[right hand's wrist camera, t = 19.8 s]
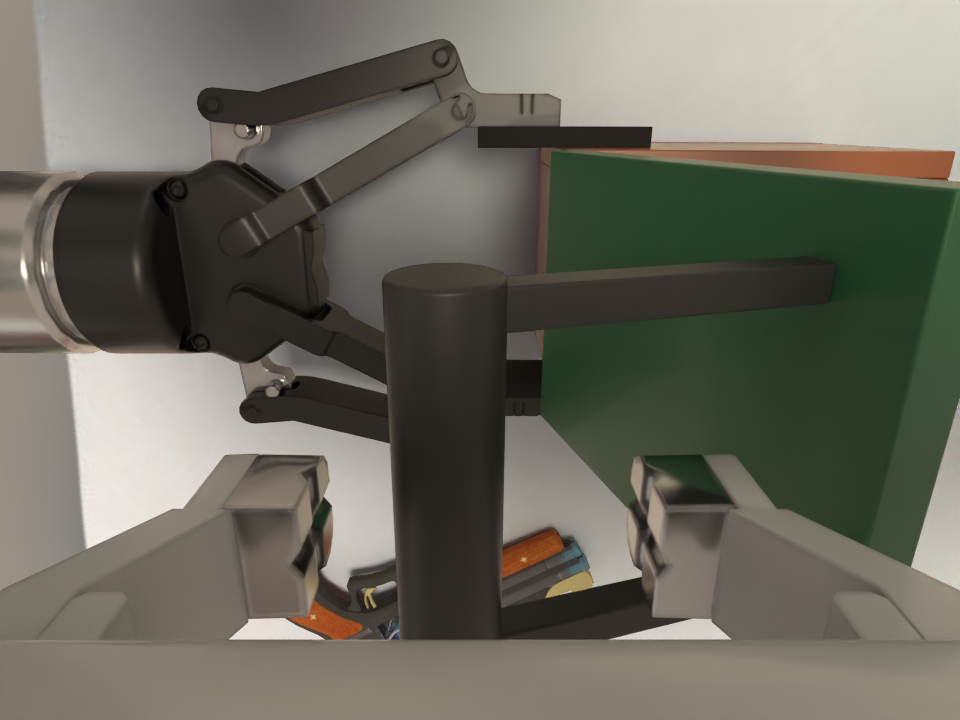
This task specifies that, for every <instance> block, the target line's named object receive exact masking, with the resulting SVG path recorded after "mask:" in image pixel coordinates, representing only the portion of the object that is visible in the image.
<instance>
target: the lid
mask: <svg viewBox="0 0 960 720" xmlns="http://www.w3.org/2000/svg"><path fill="white" fill-rule="evenodd" d="M382 291H383V311H384V331H385V351H386V371H387V391H388V411H389V432H390V452H391V472H392V492H393V512H394V532H395V552H396V572H397V592H398V612H399V632H400V640H608V639H612V638H616V637H620V636H624V635H628V634H632V633H636V632H640V631H644V630H648V629H652V628H656V627H660V626H664V625H668V624H672V623H676V622H681V621H685V620H689V619H693V618H661V617H652V615H651V612H650V609H649V607H648V604H647V601H646V598H645V595H644V593H643V590H642V587H641V579H642V577H639V578H635V579H630V580H626V581H621V582H617V583H612V584H608V585H603V586H598V587H594V588H589V589H585V590H580V591H576V592H571V593H567V594H562V595H557V596H553V597H548V598H544V599H539V600H535V601H530V602H526V603H521V604H516V605H512V606H507V607H503V608H501V600H502V549H503V499H504V448H505V397H506V346H507V333H515V332H526V331H537V330H544V337H543V361H542V386H541V410H540V415H541V416H542V417H543V418H544V419H545V420H546V421H547V422H548V424H549V425H550V426H551V427H552V428H553V429H554V430H555V431H556V432H557V433H558V434H559V435H560V436H561V437H562V439H563V440H564V441H565V442H566V443H567V444H568V445H569V446H570V447H571V448H572V449H573V450H574V451H575V452H576V454H577V455H578V456H579V457H580V458H581V459H582V460H583V461H584V462H585V463H586V464H587V465H588V466H589V467H590V469H591V470H592V471H593V472H594V473H595V474H596V475H597V476H598V477H599V478H600V479H601V480H602V481H603V482H604V484H605V485H606V486H607V487H608V488H609V489H610V490H611V491H612V492H613V493H614V494H615V495H616V496H617V497H618V499H619V500H620V501H621V502H622V503H623V504H624V505H625V506H626V507H627V508H628V505H629V504H630V503H631V502H632V501H633V500H634V499H635V498H636V497H637V496H636V494H635V491H634V489H633V486H632V484H631V472H632V465H633V461H634V457H637V456H654V455H696V454H701V455H712V454H732V455H734V456H736V457H737V459H738V460H739V461H740V462H741V464H742V465H743V466H744V467H745V469H746V470H747V471H748V473H749V474H750V475H751V476H752V478H753V479H754V480H755V481H756V483H757V484H758V485H759V487H760V488H761V489H762V490H763V492H764V493H765V494H766V495H767V497H768V498H769V499H770V501H771V502H772V503H773V504H774V506H775V507H776V508H777V509H788V510H791V511H793V512H795V513H797V514H799V515H801V516H803V517H805V518H807V519H810V520H812V521H814V522H816V523H818V524H820V525H822V526H824V527H827V528H829V529H831V530H833V531H835V532H837V533H839V534H841V535H843V536H846V537H848V538H850V539H852V540H854V541H856V542H858V543H860V544H862V545H865V546H867V547H869V548H871V549H873V550H875V551H877V552H879V553H882V554H884V555H886V556H888V557H890V558H892V559H894V560H896V561H898V562H901V563H903V564H905V565H907V566H909V567H911V565H912V562H913V558H914V555H915V551H916V548H917V544H918V541H919V537H920V534H921V530H922V527H923V523H924V520H925V516H926V513H927V509H928V506H929V503H930V499H931V496H932V492H933V489H934V485H935V482H936V478H937V475H938V471H939V468H940V464H941V461H942V457H943V454H944V451H945V447H946V444H947V440H948V437H949V433H950V430H951V426H952V423H953V419H954V416H955V412H956V409H957V405H958V402H959V398H960V182H954V181H942V180H931V179H919V178H907V177H895V176H883V175H871V174H860V173H848V172H836V171H824V170H812V169H800V168H789V167H777V166H765V165H753V164H741V163H729V162H717V161H706V160H694V159H682V158H670V157H658V156H646V155H635V154H623V153H611V152H599V151H587V150H553V151H551V165H550V189H549V214H548V239H547V263H546V273H543V274H528V275H513V276H505V274H504V273H502V272H500V271H498V270H495V269H493V268H489V267H485V266H480V265H473V264H462V263H431V264H420V265H413V266H407V267H403V268H399V269H396V270H394V271H391V272H389V273H387V274H386V275H385V276H384V278H383V281H382Z"/></svg>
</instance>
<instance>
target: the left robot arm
mask: <svg viewBox="0 0 960 720" xmlns="http://www.w3.org/2000/svg"><path fill="white" fill-rule="evenodd" d="M431 84H434V85H435V88H436V91H437V93H438V96H439V99H440V103H438V104H436V105H435V106H433V107H431V108H430V109H428V110H426V111H424V112H423V113H421V114H419V115H418V116H416V117H414V118H413V119H411V120H409V121H407V122H406V123H404V124H402V125H401V126H399V127H397V128H396V129H394V130H392V131H391V132H389V133H387V134H385V135H384V136H382V137H380V138H379V139H377V140H375V141H374V142H372V143H370V144H369V145H367V146H365V147H363V148H362V149H360V150H358V151H357V152H355V153H353V154H352V155H350V156H348V157H347V158H345V159H343V160H341V161H340V162H338V163H336V164H335V165H333V166H331V167H330V168H328V169H326V170H325V171H323V172H321V173H319V174H318V175H316V176H314V177H313V178H311V179H309V180H307V181H305V182H303V183H301V184H299V185H298V186H296V187H294V188H293V189H291V190H289V191H288V192H287V191H286V190H284V189H283V188H281V187H280V186H278V185H277V184H275V183H274V182H273V181H271V180H270V179H268V178H267V177H265V176H264V175H263V174H261V173H260V172H258V171H257V170H255V169H254V168H253V167H251V166H250V165H248V164H247V163H245V156H246V153H247V152H248V151H249V149H251V148H252V147H255V146H260V145H263V144H265V143H266V142H267V141H268V140H269V138H270V134H271V126H279V125H289V124H294V123H298V122H302V121H306V120H309V119H313V118H316V117H320V116H323V115H326V114H330V113H333V112H337V111H340V110H344V109H347V108H351V107H354V106H358V105H361V104H365V103H368V102H372V101H375V100H379V99H382V98H386V97H389V96H393V95H396V94H400V93H403V92H407V91H410V90H414V89H417V88H421V87H424V86H428V85H431ZM197 106H198V110H199V112H200V113H201V115H202V116H203V117H204V118H206V119H207V120H209V121H210V133H211V153H212V161H211V162H209V163H207V164H205V165H204V166H202V167H201V168H199V169H197V170H195V171H192V172H94V173H90V174H88V175H86V176H85V175H82V174H80V173H77V172H39V171H37V172H35V171H32V172H30V171H0V352H1V353H94V352H97V351H99V350H103V351H106V352H109V353H204V352H208V353H215V354H218V355H222V356H224V357H226V358H228V359H230V360H232V361H234V362H237V363H239V365H240V369H241V374H242V378H243V382H244V387H245V391H246V398H245V400H244V401H243V402H242V403H241V405H240V407H239V409H240V414H241V416H242V418H243V419H244V420H245V421H247V422H250V423H269V422H281V421H298V422H302V423H306V424H310V425H314V426H319V427H323V428H327V429H331V430H336V431H340V432H344V433H348V434H353V435H357V436H361V437H365V438H369V439H374V440H378V441H382V442H386V443H390V432H389V411H388V394H384V393H380V392H375V391H371V390H367V389H363V388H359V387H355V386H351V385H347V384H343V383H338V382H334V381H330V380H326V379H322V378H317V377H311V376H295V374H294V372H293V370H292V369H291V368H289V367H285V366H279V365H276V364H274V363H273V362H272V361H271V360H270V359H269V357H268V354H269V353H270V352H272V351H273V350H274V349H276V348H277V347H278V346H280V345H281V344H282V343H284V342H285V341H288V342H290V343H292V344H294V345H296V346H298V347H300V348H302V349H304V350H306V351H308V352H310V353H313V354H315V355H318V356H329V357H331V358H334V359H336V360H338V361H340V362H342V363H344V364H346V365H348V366H350V367H352V368H354V369H356V370H358V371H360V372H362V373H364V374H366V375H368V376H370V377H372V378H374V379H376V380H378V381H380V382H382V383H384V384H386V385H387V371H386V351H385V333H383V332H381V331H379V330H377V329H375V328H373V327H371V326H369V325H367V324H365V323H363V322H361V321H359V320H357V319H355V318H353V317H352V316H350V315H349V313H348V312H347V311H346V310H345V309H343V308H342V307H340V306H338V305H336V304H334V303H332V302H330V301H328V300H326V298H327V297H328V296H329V295H330V293H329V280H328V276H327V273H326V270H325V267H324V264H323V261H322V258H323V252H324V247H325V231H324V224H320V222H319V220H318V218H317V216H316V215H315V214H317V213H319V212H320V211H322V210H324V209H326V208H327V207H329V206H331V205H333V204H334V203H336V202H338V201H339V200H341V199H343V198H344V197H346V196H348V195H350V194H351V193H353V192H355V191H357V190H358V189H360V188H362V187H363V186H365V185H367V184H369V183H370V182H372V181H374V180H376V179H377V178H379V177H381V176H382V175H384V174H386V173H388V172H389V171H391V170H393V169H395V168H396V167H398V166H400V165H401V164H403V163H405V162H407V161H408V160H410V159H412V158H414V157H415V156H417V155H419V154H420V153H422V152H424V151H426V150H427V149H429V148H431V147H433V146H434V145H436V144H438V143H439V142H441V141H443V140H445V139H446V138H448V137H450V136H452V135H453V134H455V133H457V132H458V131H460V130H462V129H464V128H478V148H558V147H651V136H652V127H560V111H561V99H558V98H556V97H554V96H552V95H549V94H485V93H480V92H478V91H476V90H474V89H473V88H472V87H471V86H470V84H469V83H468V81H467V79H466V76H465V73H464V70H463V67H462V64H461V61H460V58H459V55H458V52H457V50H456V48H455V46H454V45H453V44H452V43H451V42H450V41H447V40H445V39H439V40H434V41H431V42H427V43H424V44H420V45H417V46H414V47H410V48H407V49H403V50H400V51H397V52H393V53H390V54H386V55H383V56H379V57H376V58H373V59H369V60H366V61H362V62H359V63H356V64H352V65H349V66H345V67H342V68H338V69H335V70H332V71H328V72H325V73H321V74H318V75H315V76H311V77H308V78H304V79H301V80H298V81H294V82H291V83H287V84H284V85H280V86H277V87H274V88H270V89H267V90H263V91H260V92H253V91H243V90H233V89H223V88H213V87H212V88H206V89H204V90H203V91H201V92H200V94H199V96H198V99H197ZM541 386H542V360H506V397H505V416H538V415H540V410H541Z"/></svg>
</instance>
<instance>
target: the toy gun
mask: <svg viewBox="0 0 960 720" xmlns="http://www.w3.org/2000/svg"><path fill="white" fill-rule="evenodd" d="M589 568H590V566H589V564H588V561H587V559H586V557H585V555H584V554H583V553H581V551H580V549H579V547H578V545H577V543H576V541H574V542H572V543H570V541H567V542H564V543H563V542H562V540H561V538H560V536H559V534H558V532H557V531H555V530H554V529H551V530H549V531H547V532H544V533H542V534H539V535H537V536H534V537H532V538H530V539H527V540H525V541H523V542H520V543H518V544H516V545H513V546H511V547H509V548H506V549H504V550H502V600H501V608H503V607H507V606H512V605H516V604H521V603H526V602H530V601H535V600H539V599H544V598H548V597H553V596H557V595H560V594H562V593H564V592H567V591H569V590H572V591H573V592H576V591H580V590H585V589H589V588H590V587H592V586H593V585H592V584H593V583H594V582H593V579H592V576H591V574H590V572H589V570H588V569H589ZM318 579H319V587H318V590H317V593H316V596H315V598H314V601H313V604H312V607H311V609H310V612H309V615H308V617H297V618H286V619H287V620H289V621H290V622H292V623H294V624H295V625H297V626H299V627H301V628H304V629H306V630H308V631H310V632H313V633H315V634H317V635H319V636H321V637H322V638H324V639H325V640H400V632H399V621H398V622H397V623H396V625H395V626H394V627H393V629H392V632H390V629H391V624H392V621H393V619H394V618H396V617H398V616H399V612H398V593H396V594H394V595H392V596H390V597H388V598H385V599H383V600H381V601H379V602H377V603H375V601H374V599H373V597H372V595H371V593H372V592H373V591H374V590H376V587H375V586H379V585H382V584H385V583H387V582H390V581H395V582H396V583H397V572H396V565H394V566H391V567H389V568H387V569H385V570H382V571H380V572H376V573H372V574H368V575H360V576H354V577H350V578H349V581H348V584H347V588H348V590H349V593H350V596H351V601H350V602H348V601H345V600H344V599H342V598H340V597H339V596H337V595H336V594H334V593H333V592H331V591H330V590H329V589H327V588H326V587H325V586H324V585H323V583H322V582H321V580H320V578H319V576H318ZM363 588H366V590H365V596H364V601H365V604H363V603H362V601H361V599H360V598H359V595H358V589H363ZM367 595H368V597H369V600H370V602H371V604H368V601H367V597H366V596H367ZM389 620H390V622H389V627H388V628H386V627H385V625H384V623H385V622H387V621H389Z"/></svg>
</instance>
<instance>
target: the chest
mask: <svg viewBox="0 0 960 720" xmlns="http://www.w3.org/2000/svg"><path fill="white" fill-rule="evenodd" d="M553 150H587V151H599V152H611V153H623V154H635V155H646V156H658V157H670V158H682V159H694V160H706V161H717V162H729V163H741V164H753V165H765V166H777V167H789V168H800V169H812V170H824V171H836V172H848V173H860V174H871V175H883V176H895V177H907V178H919V179H931V180H942V181H948V179H947V178H949V175H950V171H951V167H952V163H953V159H954V155H955V152H954V151H940V150H923V149H905V148H888V147H870V146H853V145H835V144H823V143H722V142H651V147H558V148H540V175H539V204H538V232H537V261H536V274H543V273H546V263H547V239H548V214H549V189H550V165H551V151H553ZM535 334H536V336H537V340H538V344H539V348H540V352H541V357H542V361H543V337H544V330H537V331H535Z"/></svg>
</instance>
